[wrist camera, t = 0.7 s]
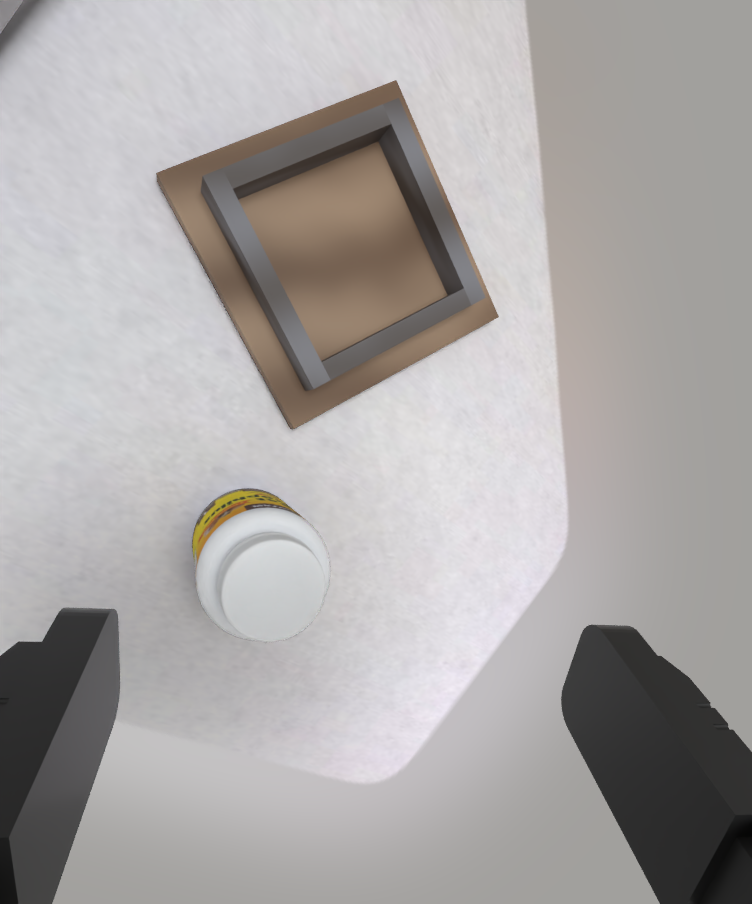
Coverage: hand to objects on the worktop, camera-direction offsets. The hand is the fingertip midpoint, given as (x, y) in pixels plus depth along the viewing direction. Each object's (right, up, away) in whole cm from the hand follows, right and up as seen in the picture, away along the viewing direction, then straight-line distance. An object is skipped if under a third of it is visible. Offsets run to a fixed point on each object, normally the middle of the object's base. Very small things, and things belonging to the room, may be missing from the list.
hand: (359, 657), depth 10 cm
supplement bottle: (-7, -1, +21) cm, 23 cm away
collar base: (-2, +14, +22) cm, 26 cm away
